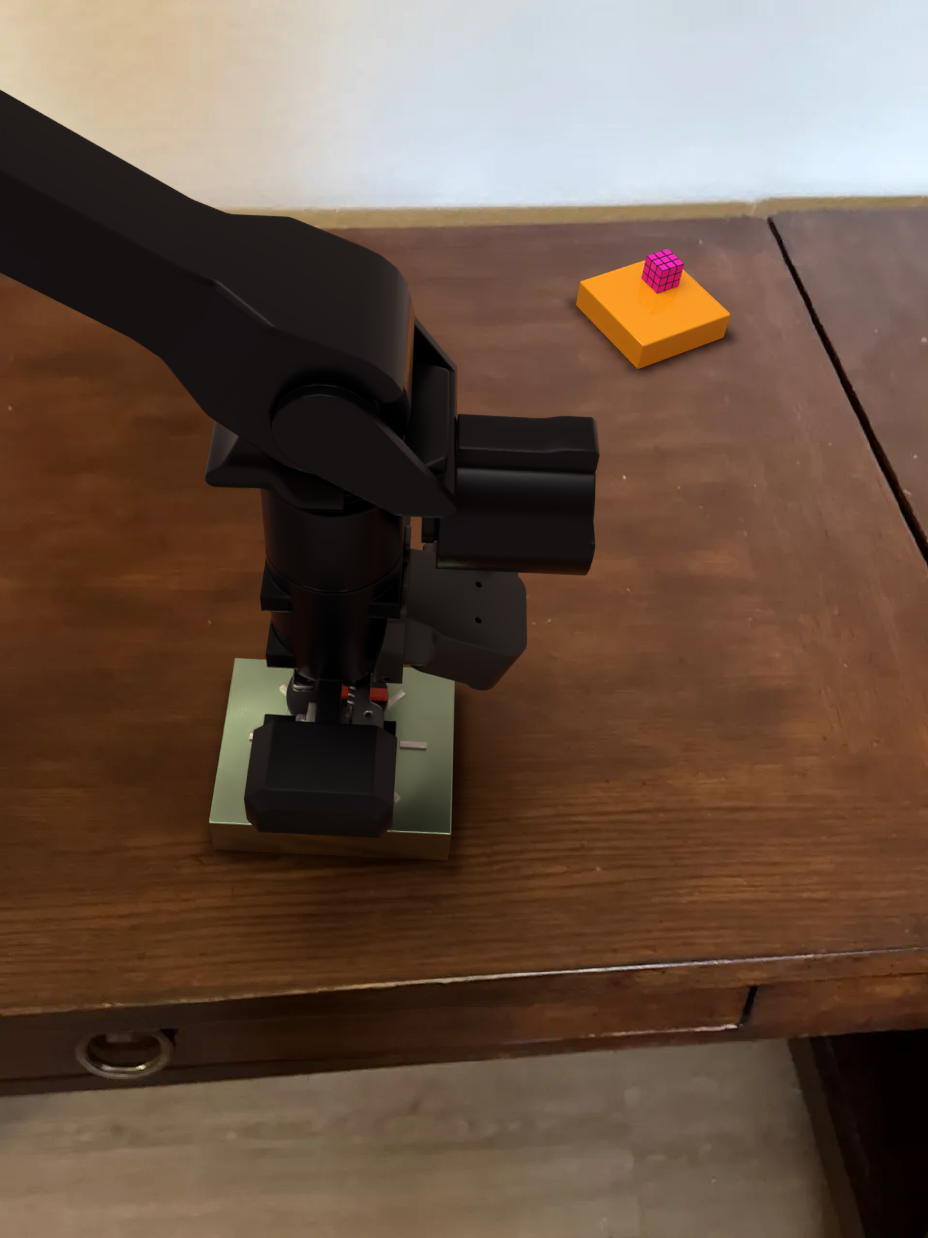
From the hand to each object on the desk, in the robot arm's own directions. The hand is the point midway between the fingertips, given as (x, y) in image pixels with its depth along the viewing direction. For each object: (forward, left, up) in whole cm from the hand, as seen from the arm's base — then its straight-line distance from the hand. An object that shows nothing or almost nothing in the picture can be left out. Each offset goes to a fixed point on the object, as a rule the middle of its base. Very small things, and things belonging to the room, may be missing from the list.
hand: (337, 737), depth 63 cm
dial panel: (0, 0, -4) cm, 4 cm away
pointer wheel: (0, 0, 0) cm, 0 cm away
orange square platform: (+20, +40, -4) cm, 44 cm away
